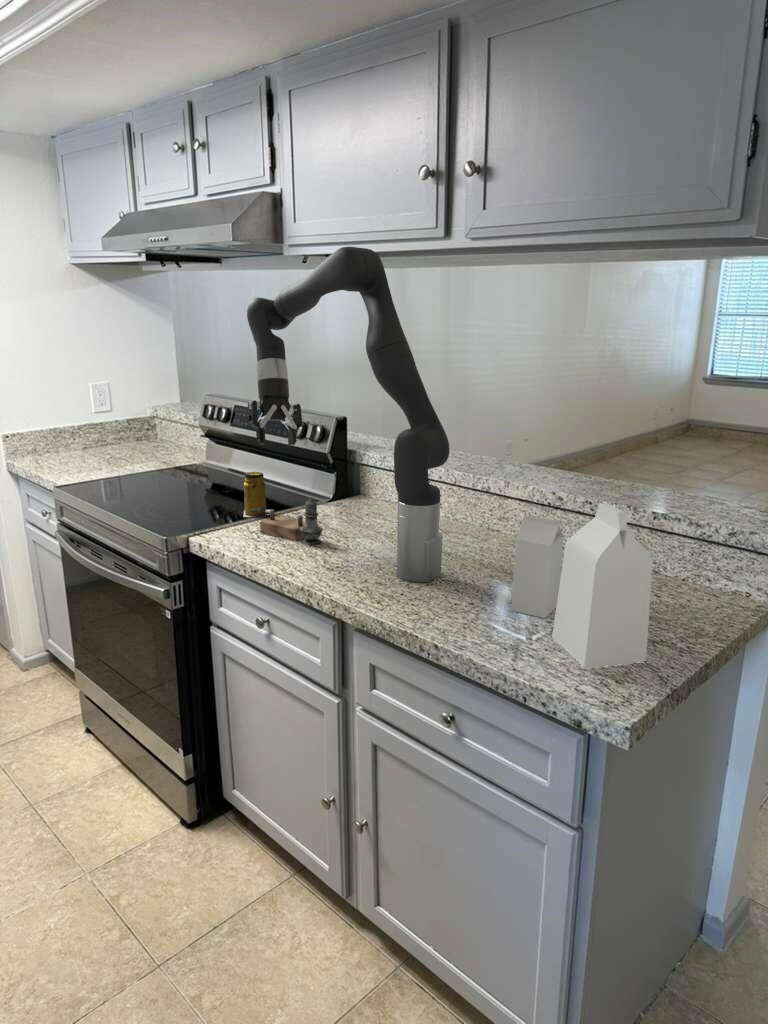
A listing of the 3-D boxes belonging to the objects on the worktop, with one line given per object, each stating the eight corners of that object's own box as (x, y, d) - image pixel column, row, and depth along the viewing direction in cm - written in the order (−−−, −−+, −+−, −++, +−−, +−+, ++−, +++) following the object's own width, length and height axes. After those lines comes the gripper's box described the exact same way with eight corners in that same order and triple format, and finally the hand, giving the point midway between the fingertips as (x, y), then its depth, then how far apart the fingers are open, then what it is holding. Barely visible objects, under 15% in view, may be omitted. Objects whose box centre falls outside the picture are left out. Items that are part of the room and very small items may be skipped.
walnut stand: (312, 534, 189) (312, 514, 188) (295, 540, 184) (295, 520, 182) (277, 526, 196) (277, 507, 194) (260, 532, 190) (259, 512, 188)
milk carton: (545, 619, 139) (553, 525, 134) (510, 611, 142) (517, 519, 137) (557, 607, 145) (565, 516, 140) (524, 599, 148) (530, 511, 143)
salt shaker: (312, 547, 179) (311, 500, 176) (295, 542, 182) (294, 496, 179) (327, 541, 183) (327, 496, 180) (310, 537, 187) (310, 492, 184)
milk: (551, 638, 131) (563, 500, 124) (609, 633, 133) (623, 497, 126) (584, 669, 119) (599, 519, 112) (645, 663, 122) (664, 516, 115)
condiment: (243, 511, 210) (242, 470, 207) (273, 510, 212) (272, 470, 209) (243, 517, 204) (241, 476, 200) (273, 517, 205) (272, 475, 202)
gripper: (255, 374, 171) (259, 441, 170) (305, 378, 180) (309, 443, 179) (239, 380, 177) (244, 446, 176) (289, 384, 186) (293, 447, 185)
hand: (277, 444), depth 178 cm, fingers open, 8 cm apart
